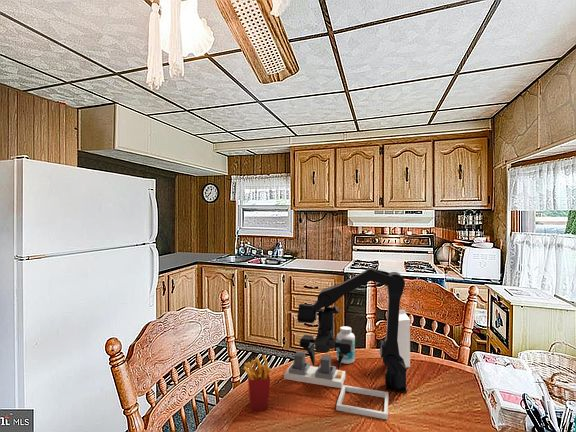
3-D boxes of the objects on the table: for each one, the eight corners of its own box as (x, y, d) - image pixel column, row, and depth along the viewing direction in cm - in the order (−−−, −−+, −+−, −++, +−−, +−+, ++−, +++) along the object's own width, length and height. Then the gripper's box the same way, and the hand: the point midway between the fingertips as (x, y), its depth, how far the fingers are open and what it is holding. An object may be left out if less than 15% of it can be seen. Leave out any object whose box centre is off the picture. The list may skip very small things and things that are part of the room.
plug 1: (305, 367, 125) (305, 352, 125) (301, 373, 120) (301, 356, 120) (297, 366, 125) (297, 350, 126) (294, 371, 121) (294, 355, 121)
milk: (410, 367, 130) (410, 311, 130) (396, 369, 128) (397, 312, 128) (400, 360, 136) (401, 307, 136) (388, 362, 134) (388, 308, 134)
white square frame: (388, 396, 108) (388, 392, 108) (387, 419, 96) (387, 414, 96) (342, 389, 113) (342, 384, 113) (336, 410, 100) (336, 405, 100)
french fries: (270, 411, 99) (271, 361, 100) (243, 414, 98) (243, 364, 98) (266, 396, 108) (266, 350, 108) (241, 399, 106) (241, 352, 106)
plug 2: (331, 371, 121) (331, 355, 121) (328, 377, 117) (328, 360, 117) (323, 370, 122) (323, 354, 122) (320, 376, 118) (320, 359, 118)
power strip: (345, 376, 122) (345, 367, 122) (341, 388, 113) (341, 378, 113) (291, 368, 129) (291, 359, 129) (284, 378, 120) (284, 369, 120)
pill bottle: (356, 364, 132) (356, 331, 132) (337, 364, 132) (338, 330, 132) (353, 357, 139) (353, 325, 140) (335, 356, 140) (335, 324, 140)
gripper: (295, 328, 115) (295, 373, 115) (348, 334, 109) (348, 381, 109) (303, 319, 126) (303, 360, 126) (352, 324, 120) (352, 367, 120)
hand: (325, 367), depth 120 cm, fingers open, 9 cm apart
